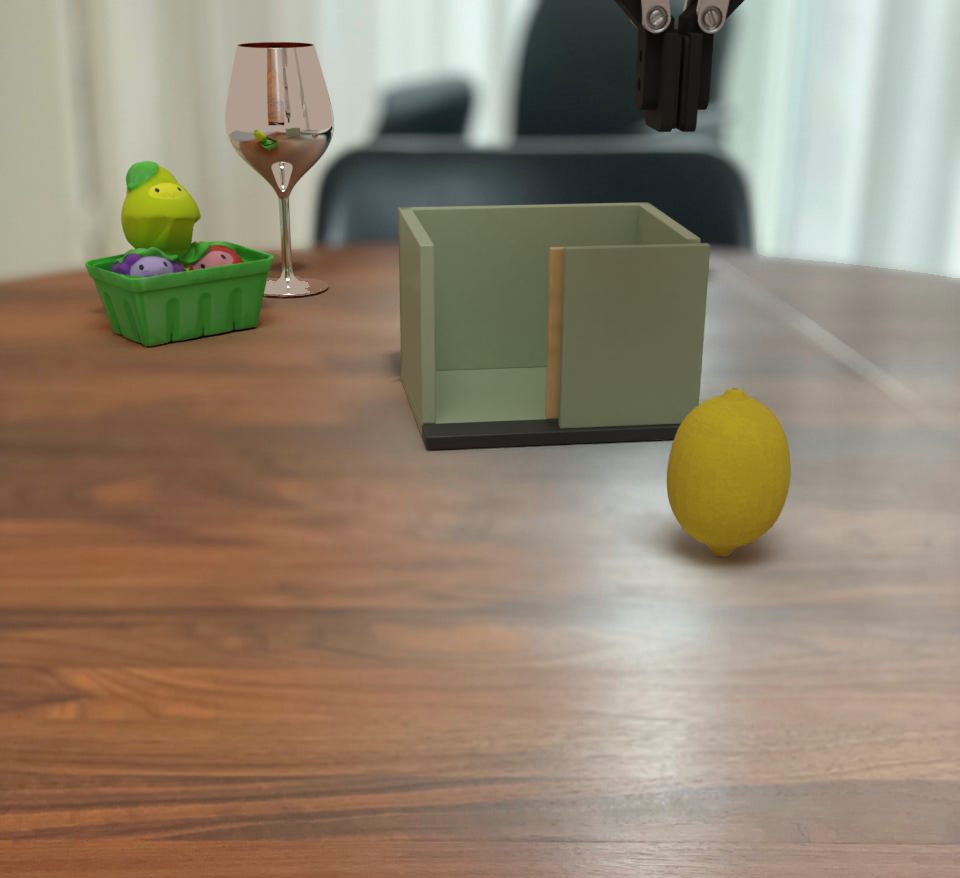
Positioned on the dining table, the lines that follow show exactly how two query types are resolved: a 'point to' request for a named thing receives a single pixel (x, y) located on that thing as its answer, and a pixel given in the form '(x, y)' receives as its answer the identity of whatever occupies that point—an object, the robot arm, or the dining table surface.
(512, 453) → the dining table surface
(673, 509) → the lemon
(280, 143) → the wineglass
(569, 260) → the cupboard
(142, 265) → the fruit basket
